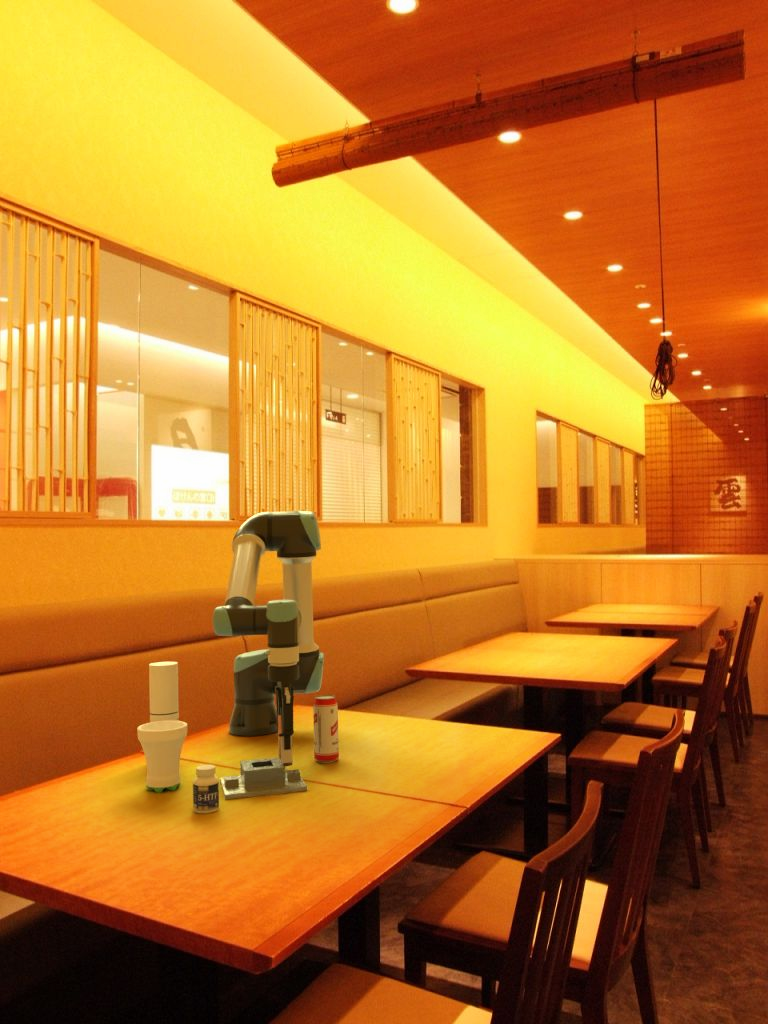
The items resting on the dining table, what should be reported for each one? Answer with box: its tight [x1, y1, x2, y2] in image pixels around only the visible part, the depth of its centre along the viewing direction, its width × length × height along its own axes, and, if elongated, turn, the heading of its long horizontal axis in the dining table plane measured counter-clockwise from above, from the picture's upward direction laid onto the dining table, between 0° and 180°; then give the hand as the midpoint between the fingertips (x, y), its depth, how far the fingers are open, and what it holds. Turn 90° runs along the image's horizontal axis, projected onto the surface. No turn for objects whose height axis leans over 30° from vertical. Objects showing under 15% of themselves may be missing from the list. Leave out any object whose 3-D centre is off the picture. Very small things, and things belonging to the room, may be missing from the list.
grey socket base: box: [219, 756, 308, 800], centre depth 190 cm, size 14×18×5 cm
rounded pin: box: [277, 714, 293, 767], centre depth 203 cm, size 3×3×12 cm
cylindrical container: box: [148, 661, 180, 723], centre depth 215 cm, size 7×7×25 cm
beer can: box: [312, 694, 340, 764], centre depth 211 cm, size 6×6×16 cm
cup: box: [136, 720, 188, 794], centre depth 191 cm, size 11×11×14 cm
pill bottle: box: [192, 764, 220, 814], centre depth 174 cm, size 5×5×9 cm
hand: (285, 760), depth 203 cm, fingers closed on rounded pin, 3 cm apart
